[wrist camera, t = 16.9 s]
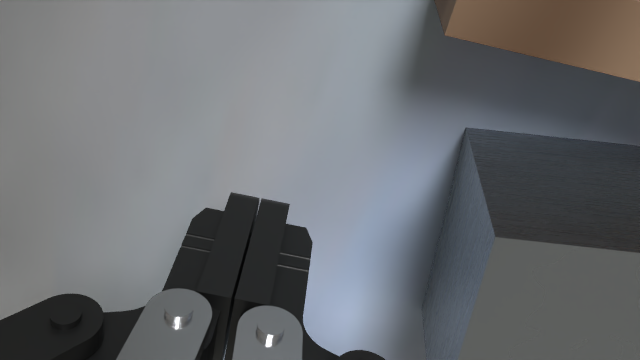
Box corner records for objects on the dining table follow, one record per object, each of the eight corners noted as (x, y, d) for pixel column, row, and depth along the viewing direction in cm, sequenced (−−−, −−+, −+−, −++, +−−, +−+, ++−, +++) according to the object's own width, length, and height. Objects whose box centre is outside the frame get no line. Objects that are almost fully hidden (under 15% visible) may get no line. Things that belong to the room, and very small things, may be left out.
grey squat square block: (421, 305, 21) (433, 437, 16) (465, 124, 17) (495, 237, 13) (627, 328, 20) (692, 467, 16) (718, 151, 17) (833, 274, 12)
